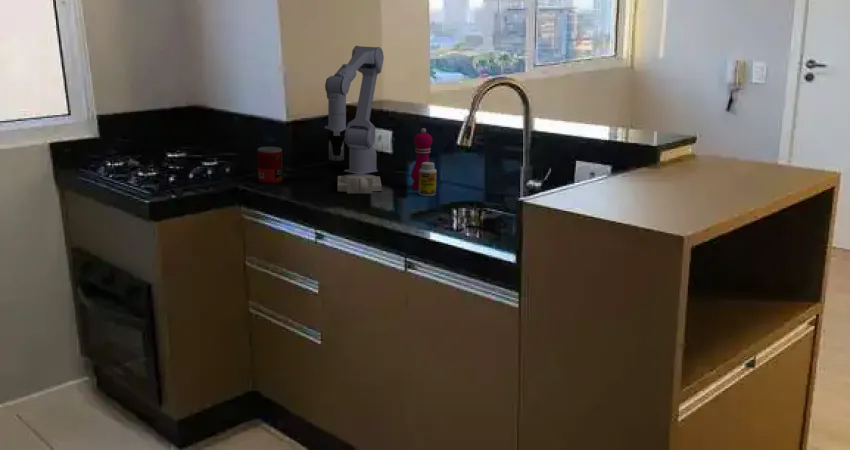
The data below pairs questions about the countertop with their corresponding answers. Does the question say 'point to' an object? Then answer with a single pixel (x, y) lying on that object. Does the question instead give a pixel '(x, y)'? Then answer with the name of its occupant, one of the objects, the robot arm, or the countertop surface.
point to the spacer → (336, 158)
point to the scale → (359, 183)
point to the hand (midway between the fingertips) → (337, 154)
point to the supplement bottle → (427, 179)
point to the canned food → (270, 164)
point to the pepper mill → (420, 155)
